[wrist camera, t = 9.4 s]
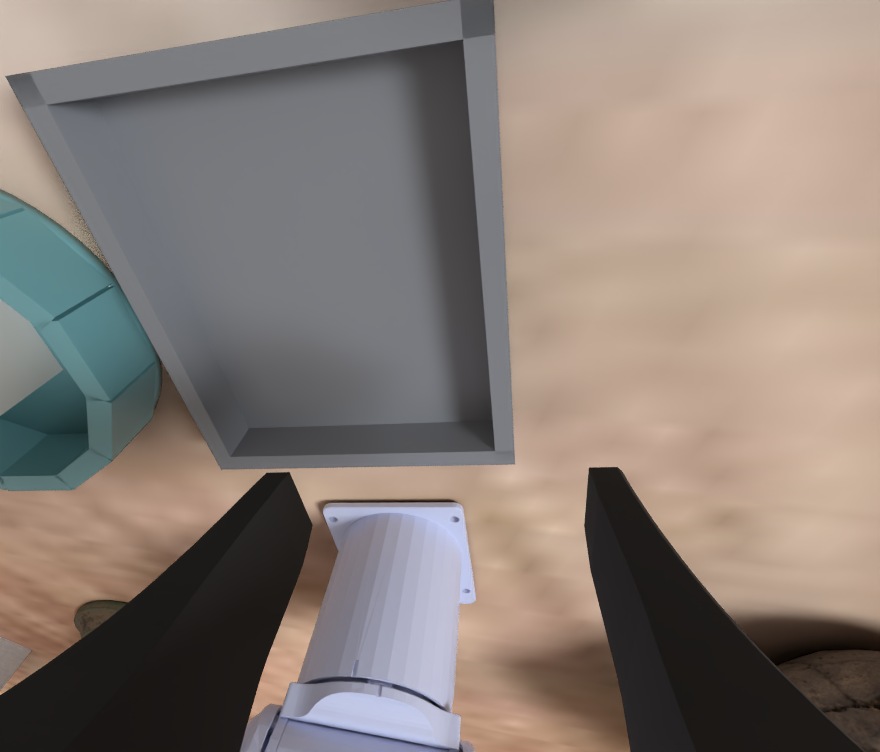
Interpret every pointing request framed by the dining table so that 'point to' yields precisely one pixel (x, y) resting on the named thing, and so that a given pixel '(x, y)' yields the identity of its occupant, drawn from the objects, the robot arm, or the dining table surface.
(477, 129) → the parts tray
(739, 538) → the dining table surface
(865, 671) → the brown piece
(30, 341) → the gray rectangular block
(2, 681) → the milk carton
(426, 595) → the robot arm
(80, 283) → the bowl
